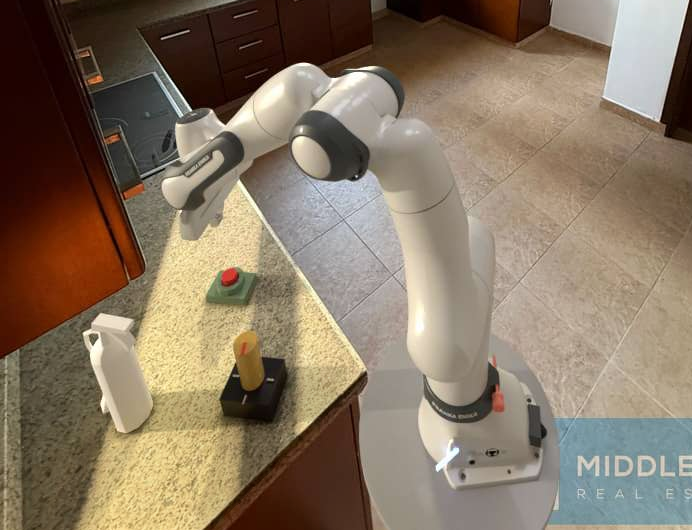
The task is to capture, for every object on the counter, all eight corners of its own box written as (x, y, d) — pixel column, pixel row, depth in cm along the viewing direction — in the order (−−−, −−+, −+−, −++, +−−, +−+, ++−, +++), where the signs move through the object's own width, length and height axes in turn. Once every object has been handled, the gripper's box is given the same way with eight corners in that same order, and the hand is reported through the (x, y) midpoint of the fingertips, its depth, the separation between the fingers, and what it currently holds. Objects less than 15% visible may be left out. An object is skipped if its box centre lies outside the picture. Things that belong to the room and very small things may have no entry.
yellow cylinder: (244, 367, 87) (236, 331, 83) (266, 364, 87) (259, 328, 84) (238, 392, 83) (229, 355, 79) (261, 389, 83) (253, 352, 80)
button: (240, 273, 108) (239, 268, 108) (233, 287, 105) (232, 281, 105) (227, 272, 109) (226, 267, 108) (220, 286, 106) (218, 280, 105)
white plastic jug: (118, 386, 89) (84, 298, 81) (169, 396, 87) (140, 306, 79) (90, 426, 83) (51, 334, 75) (145, 438, 80) (111, 345, 73)
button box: (257, 279, 111) (255, 267, 110) (245, 305, 104) (242, 293, 103) (221, 276, 112) (218, 264, 111) (206, 302, 105) (203, 290, 104)
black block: (288, 373, 90) (285, 356, 88) (271, 424, 82) (268, 406, 80) (243, 368, 91) (239, 351, 89) (222, 418, 83) (218, 400, 81)
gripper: (193, 210, 87) (205, 262, 91) (240, 147, 106) (249, 192, 110) (164, 209, 88) (178, 260, 92) (216, 146, 107) (226, 191, 111)
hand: (217, 222), depth 101 cm, fingers closed
